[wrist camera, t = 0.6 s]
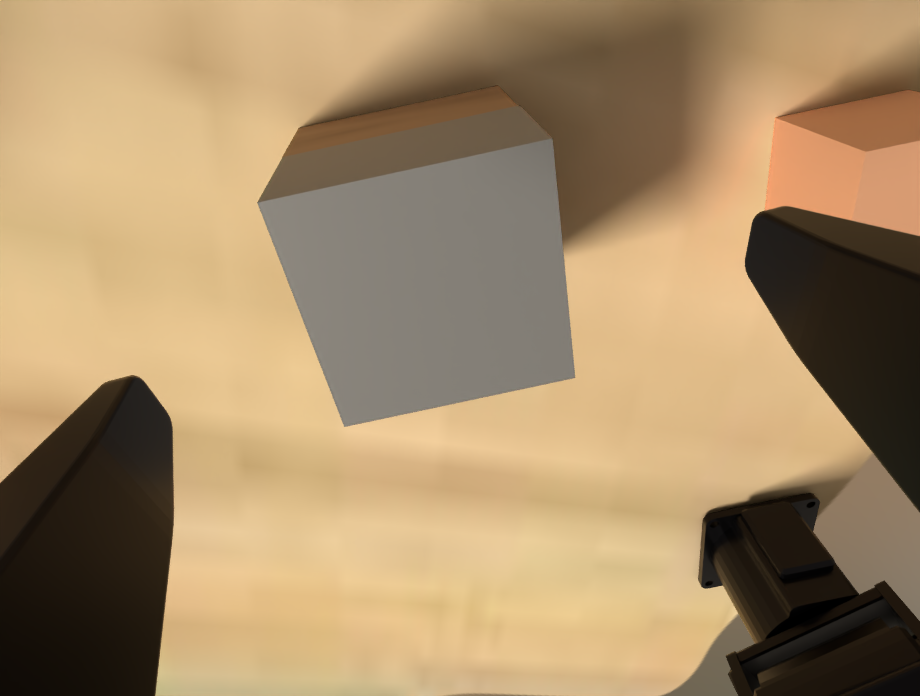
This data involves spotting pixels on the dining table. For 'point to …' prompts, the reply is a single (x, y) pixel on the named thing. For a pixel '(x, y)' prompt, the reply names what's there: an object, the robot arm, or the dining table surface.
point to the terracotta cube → (851, 161)
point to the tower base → (398, 119)
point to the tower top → (427, 263)
